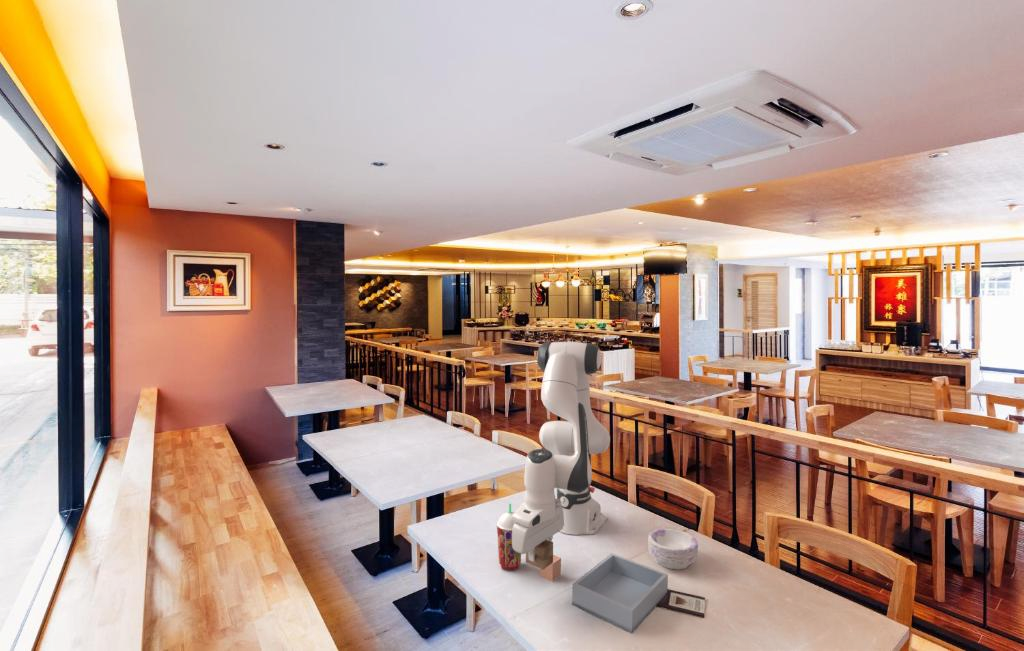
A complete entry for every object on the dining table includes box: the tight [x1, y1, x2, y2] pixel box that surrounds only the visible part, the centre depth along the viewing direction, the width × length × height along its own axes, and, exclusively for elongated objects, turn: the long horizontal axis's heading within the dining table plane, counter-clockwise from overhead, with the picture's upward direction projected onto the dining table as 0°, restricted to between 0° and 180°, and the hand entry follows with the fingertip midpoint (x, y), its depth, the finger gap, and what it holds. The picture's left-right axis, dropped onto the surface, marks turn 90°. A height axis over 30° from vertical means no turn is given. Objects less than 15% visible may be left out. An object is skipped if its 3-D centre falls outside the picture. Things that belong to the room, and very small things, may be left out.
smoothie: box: [496, 503, 522, 571], centre depth 158 cm, size 8×8×20 cm
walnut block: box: [525, 540, 554, 570], centre depth 143 cm, size 5×6×6 cm
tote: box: [571, 552, 669, 634], centre depth 141 cm, size 22×18×6 cm
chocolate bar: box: [656, 588, 706, 619], centre depth 141 cm, size 9×1×18 cm
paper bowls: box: [647, 528, 699, 571], centre depth 161 cm, size 15×15×8 cm
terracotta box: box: [539, 554, 562, 582], centre depth 153 cm, size 4×4×6 cm
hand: (539, 555), depth 143 cm, fingers closed on walnut block, 5 cm apart
